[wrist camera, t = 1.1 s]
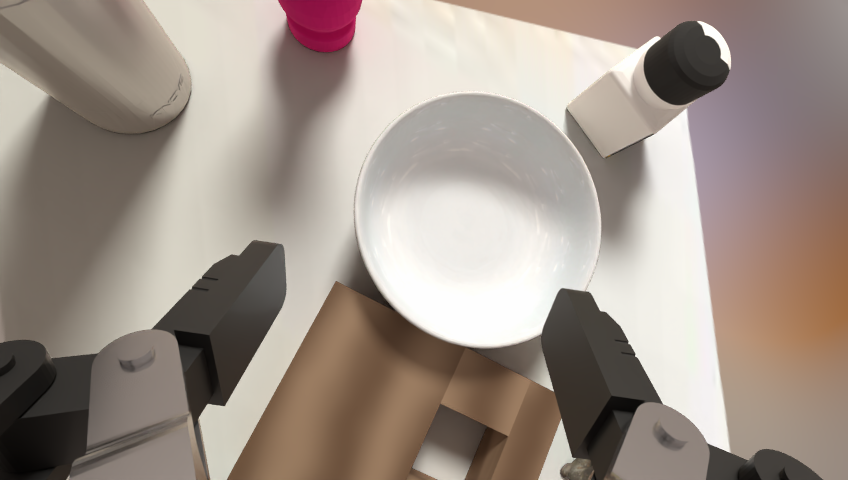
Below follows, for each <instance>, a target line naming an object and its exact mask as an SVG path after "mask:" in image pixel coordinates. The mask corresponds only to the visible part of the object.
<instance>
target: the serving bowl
mask: <svg viewBox="0 0 848 480" xmlns="http://www.w3.org/2000/svg"><path fill="white" fill-rule="evenodd" d="M354 225H355V233H356V238H357V243H358V247H359V250H360V253H361V256H362V259H363V262H364V264H365V266H366V269H367V271H368V273H369V275H370V277H371V278H372V280H373V282H374V284H375V285H376V287H377V288H378V290H379V291H380V293H381V294H382V295H383V297H384V298H385V299H386V300H387V302H388V303H389V304H390V305H391V306H392V307H393V308H394V309H395V310H396V311H397V312H398V313H399V314H400V315H401V316H403V317H404V318H405V319H406V320H407V321H409V322H410V323H411V324H413V325H414V326H416V327H417V328H419V329H420V330H422V331H424V332H425V333H427V334H429V335H431V336H433V337H435V338H438V339H440V340H443V341H446V342H448V343H452V344H456V345H460V346H465V347H470V348H481V349H487V348H502V347H508V346H513V345H517V344H520V343H523V342H526V341H529V340H531V339H534V338H536V337H538V336H540V335H542V330H543V326H544V324H545V321H546V319H547V317H548V314H549V312H550V309H551V307H552V305H553V302H554V300H555V298H556V295H557V293H558V291H559V290H560V289H561V288H566V289H573V290H579V291H586V289H587V287H588V285H589V283H590V281H591V279H592V276H593V274H594V271H595V267H596V264H597V261H598V256H599V251H600V244H601V213H600V206H599V201H598V197H597V192H596V189H595V186H594V182H593V180H592V177H591V174H590V172H589V170H588V168H587V166H586V164H585V162H584V160H583V158H582V156H581V155H580V153H579V152H578V150H577V149H576V147H575V146H574V145H573V143H572V142H571V140H570V139H569V138H568V137H567V136H566V135H565V134H564V133H563V131H562V130H561V129H560V128H558V127H557V126H556V125H555V124H554V123H553V122H552V121H551V120H549V119H548V118H547V117H545V116H544V115H543V114H541V113H540V112H538V111H537V110H535V109H534V108H532V107H530V106H528V105H526V104H524V103H522V102H520V101H517V100H515V99H512V98H509V97H506V96H503V95H499V94H494V93H489V92H479V91H462V92H453V93H447V94H443V95H439V96H435V97H433V98H430V99H427V100H425V101H423V102H420V103H418V104H416V105H414V106H413V107H411V108H409V109H408V110H406V111H405V112H403V113H402V114H401V115H399V116H398V117H397V118H396V119H394V120H393V121H392V122H391V123H390V124H389V125H388V126H387V127H386V128H385V130H384V131H383V132H382V133H381V134H380V136H379V137H378V138H377V140H376V141H375V142H374V144H373V145H372V147H371V149H370V150H369V152H368V154H367V156H366V158H365V160H364V163H363V165H362V168H361V171H360V174H359V177H358V181H357V186H356V191H355V198H354Z"/></svg>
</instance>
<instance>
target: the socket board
mask: <svg viewBox="0 0 848 480" xmlns="http://www.w3.org/2000/svg"><path fill="white" fill-rule="evenodd" d="M440 404H442V405H444V406H447V407H449V408H451V409H453V410H455V411H457V412H459V413H461V414H463V415H465V416H467V417H469V418H471V419H474V420H476V421H478V422H480V423H482V424H484V425H486V426H487V428H486V430H485V432H484V435H483V437H482V440H481V442H480V444H479V447H478V449H477V452H476V454H475V456H474V459H473V461H472V464H471V466H470V468H469V471H468V473H467V475H466V478H465V480H538V478H539V476H540V473H541V470H542V468H543V465H544V462H545V460H546V457H547V454H548V452H549V449H550V446H551V444H552V441H553V438H554V436H555V433H556V431H557V428H558V425H559V423H560V420H561V414H560V411H559V407H558V403H557V400H556V396H555V393H554V392H553V391H551V390H549V389H547V388H545V387H543V386H541V385H539V384H537V383H535V382H533V381H531V380H529V379H527V378H526V377H524V376H522V375H520V374H518V373H516V372H514V371H512V370H510V369H508V368H506V367H504V366H502V365H500V364H498V363H496V362H494V361H492V360H490V359H488V358H486V357H484V356H482V355H480V354H478V353H476V352H474V351H472V350H470V349H469V348H467V347H465V346H460V345H456V344H452V343H448V342H446V341H443V340H440V339H438V338H435V337H433V336H431V335H429V334H427V333H425V332H424V331H422V330H420V329H419V328H417V327H416V326H414V325H413V324H411V323H410V322H409V321H407V320H406V319H405V318H404V317H403V316H401V315H400V314H399V313H398V312H396V311H394V310H392V309H390V308H388V307H386V306H384V305H382V304H380V303H378V302H376V301H374V300H372V299H370V298H368V297H366V296H364V295H362V294H360V293H358V292H357V291H355V290H353V289H351V288H349V287H347V286H345V285H343V284H341V283H339V282H337V281H336V282H335V284H334V286H333V287H332V289H331V291H330V293H329V295H328V296H327V298H326V300H325V302H324V304H323V306H322V307H321V309H320V311H319V313H318V315H317V316H316V318H315V320H314V322H313V324H312V326H311V327H310V329H309V331H308V333H307V335H306V337H305V338H304V340H303V342H302V344H301V346H300V347H299V349H298V351H297V353H296V355H295V357H294V358H293V360H292V362H291V364H290V366H289V367H288V369H287V371H286V373H285V375H284V377H283V378H282V380H281V382H280V384H279V386H278V387H277V389H276V391H275V393H274V395H273V397H272V398H271V400H270V402H269V404H268V406H267V408H266V409H265V411H264V413H263V415H262V417H261V418H260V420H259V422H258V424H257V426H256V428H255V429H254V431H253V433H252V435H251V437H250V438H249V440H248V442H247V444H246V446H245V448H244V449H243V451H242V453H241V455H240V457H239V458H238V460H237V462H236V464H235V466H234V468H233V469H232V471H231V473H230V475H229V477H228V479H227V480H437V479H435V478H433V477H430V476H428V475H426V474H424V473H422V472H419V471H417V470H415V469H413V468H412V466H413V463H414V461H415V459H416V457H417V454H418V452H419V450H420V448H421V446H422V443H423V441H424V439H425V437H426V435H427V432H428V430H429V428H430V426H431V423H432V421H433V419H434V417H435V415H436V412H437V410H438V408H439V406H440Z"/></svg>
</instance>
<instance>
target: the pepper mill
mask: <svg viewBox="0 0 848 480" xmlns="http://www.w3.org/2000/svg"><path fill="white" fill-rule="evenodd" d="M278 1H279V3H280V5H281V7H282V8H283V10H284V11H285V12H286V16H287V21H288V25H289V28H290V30H291V32H292V34H293V35H294V37H295V38H296V39H297V40H298V41H299V42H300V43H301V44H302V45H304V46H305V47H307V48H309V49H311V50H315V51H318V52H332V51H337V50H339V49H341V48H343V47H344V46H346V45H347V44H348V43H349V42H350V41H351V39H352V37H353V35H354V32H355V24H356V15H357V14H358V12H359V10H360V7H361V3H362V0H278Z"/></svg>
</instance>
